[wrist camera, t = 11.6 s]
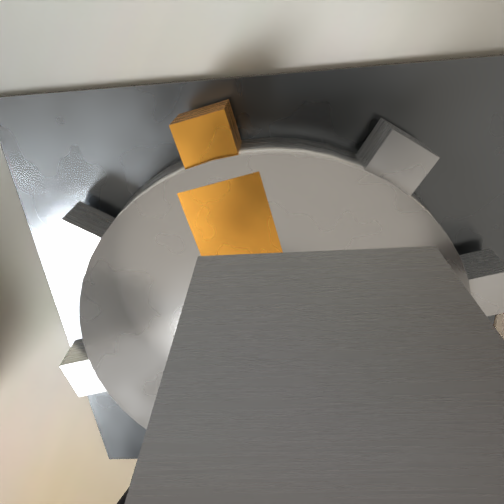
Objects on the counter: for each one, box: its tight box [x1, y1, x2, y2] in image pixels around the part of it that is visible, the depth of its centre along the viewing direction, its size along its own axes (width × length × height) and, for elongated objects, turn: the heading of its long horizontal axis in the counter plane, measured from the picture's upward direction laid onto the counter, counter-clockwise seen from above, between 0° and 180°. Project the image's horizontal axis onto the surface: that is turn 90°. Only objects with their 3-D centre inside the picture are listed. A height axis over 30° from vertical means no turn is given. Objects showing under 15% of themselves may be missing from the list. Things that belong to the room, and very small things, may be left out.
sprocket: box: [47, 99, 504, 429], centre depth 17 cm, size 18×18×6 cm
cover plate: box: [0, 55, 504, 459], centre depth 20 cm, size 19×19×1 cm
